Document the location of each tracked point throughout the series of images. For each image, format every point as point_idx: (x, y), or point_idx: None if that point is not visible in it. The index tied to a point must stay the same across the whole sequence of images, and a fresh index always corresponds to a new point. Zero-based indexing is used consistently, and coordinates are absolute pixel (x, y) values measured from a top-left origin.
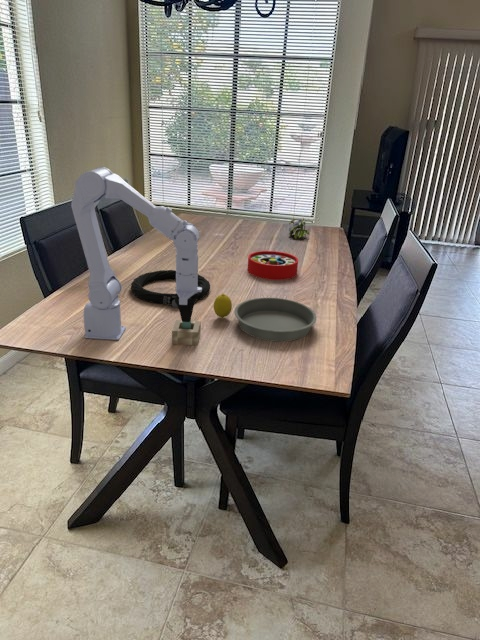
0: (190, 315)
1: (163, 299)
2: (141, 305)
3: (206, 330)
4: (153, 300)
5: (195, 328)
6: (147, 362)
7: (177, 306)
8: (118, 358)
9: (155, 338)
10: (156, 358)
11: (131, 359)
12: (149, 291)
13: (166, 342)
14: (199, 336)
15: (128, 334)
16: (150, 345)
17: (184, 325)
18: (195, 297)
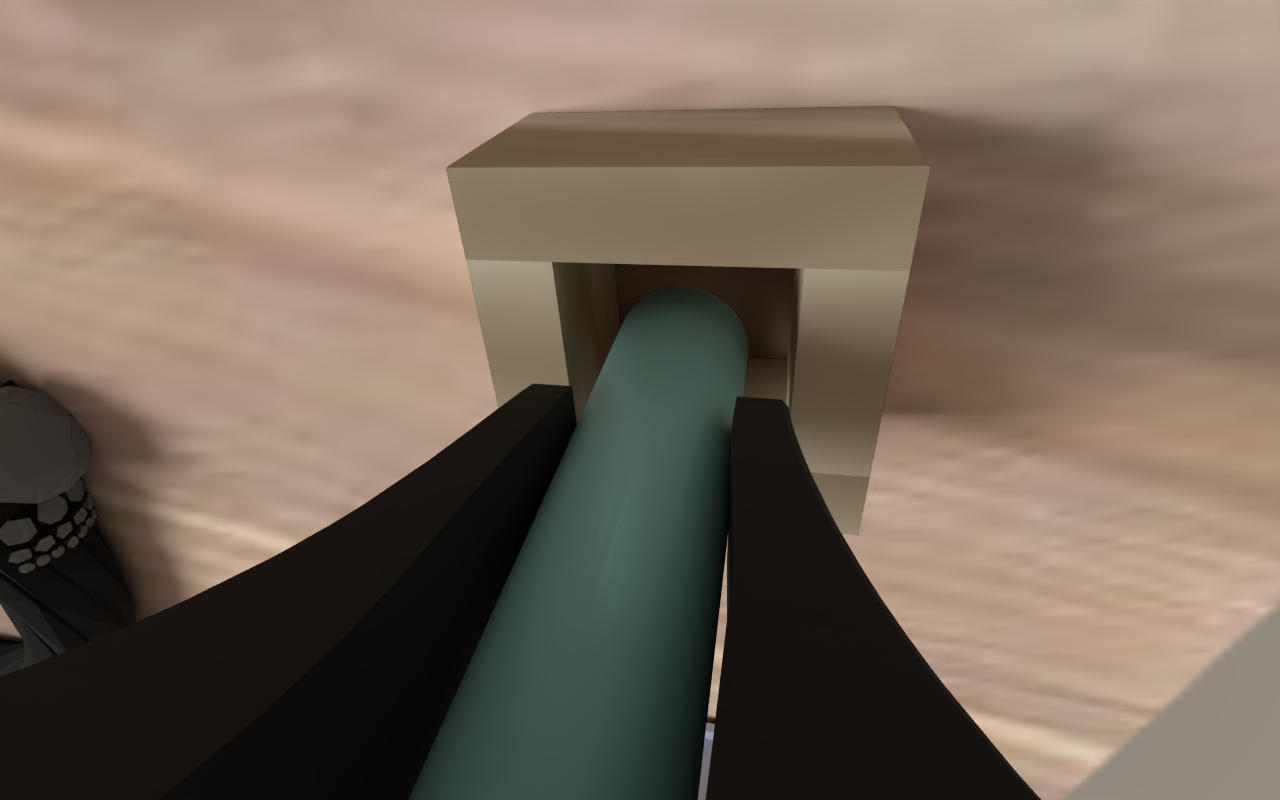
0: (817, 494)
1: (60, 555)
2: None
3: (392, 34)
4: (113, 595)
5: (753, 229)
6: (1256, 586)
7: (59, 428)
8: (1101, 736)
9: None
10: (1184, 525)
11: (1145, 677)
12: (40, 658)
13: None
14: (649, 116)
15: None
16: (875, 573)
17: None
18: (235, 773)
